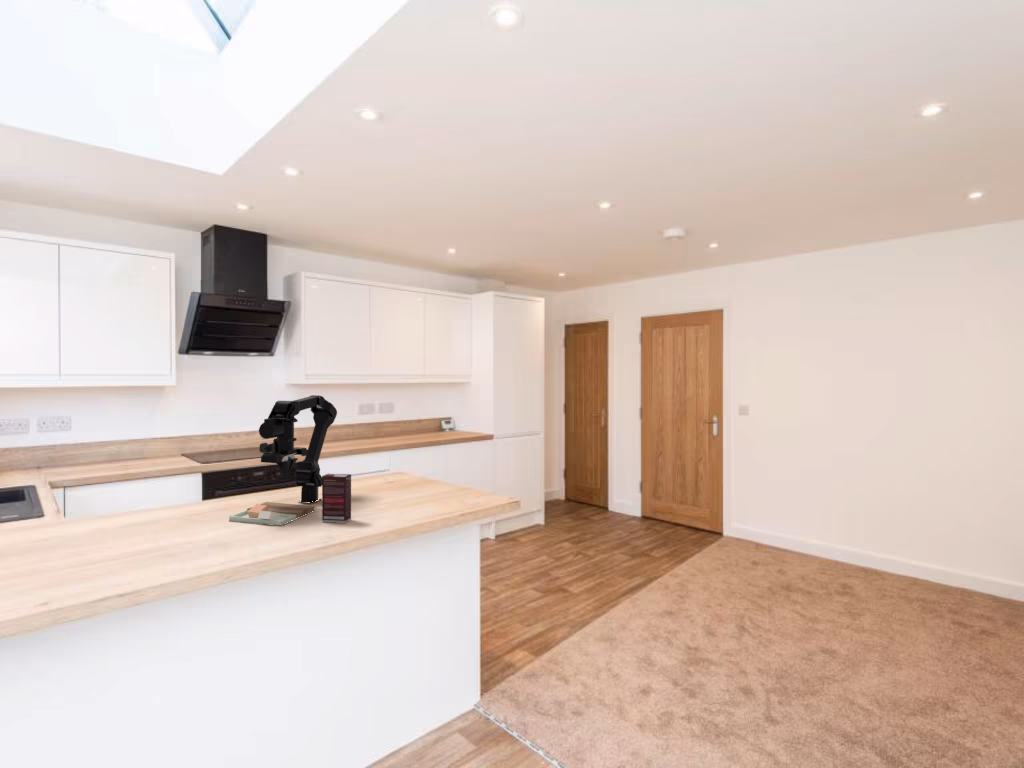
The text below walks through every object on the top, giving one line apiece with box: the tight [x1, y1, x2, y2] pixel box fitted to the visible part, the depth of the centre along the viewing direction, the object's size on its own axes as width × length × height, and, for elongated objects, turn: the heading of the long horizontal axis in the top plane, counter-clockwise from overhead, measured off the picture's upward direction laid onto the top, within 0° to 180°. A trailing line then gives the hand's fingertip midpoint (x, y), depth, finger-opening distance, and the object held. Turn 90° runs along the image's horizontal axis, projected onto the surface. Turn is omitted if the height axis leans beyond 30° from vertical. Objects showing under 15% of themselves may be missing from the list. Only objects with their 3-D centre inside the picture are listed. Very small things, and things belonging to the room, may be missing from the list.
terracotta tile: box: [247, 503, 269, 519], centre depth 178 cm, size 4×4×2 cm
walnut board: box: [246, 501, 315, 519], centre depth 185 cm, size 10×20×2 cm, turn 77°
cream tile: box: [258, 511, 280, 520], centre depth 173 cm, size 4×4×2 cm
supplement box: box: [321, 473, 352, 524], centre depth 176 cm, size 9×5×16 cm, turn 84°
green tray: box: [228, 509, 297, 526], centre depth 176 cm, size 8×20×2 cm, turn 77°
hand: (285, 478), depth 186 cm, fingers closed
